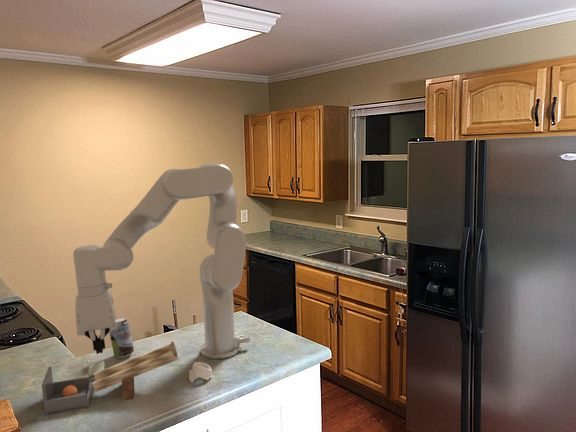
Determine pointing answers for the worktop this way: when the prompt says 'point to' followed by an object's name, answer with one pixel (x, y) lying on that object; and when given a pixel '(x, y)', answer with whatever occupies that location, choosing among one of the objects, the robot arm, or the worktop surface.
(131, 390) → the fulcrum
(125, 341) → the beverage can
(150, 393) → the worktop surface
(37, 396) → the worktop surface
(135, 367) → the lever
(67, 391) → the ball
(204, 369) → the grey hollow rounded piece
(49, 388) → the bin
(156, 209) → the robot arm
